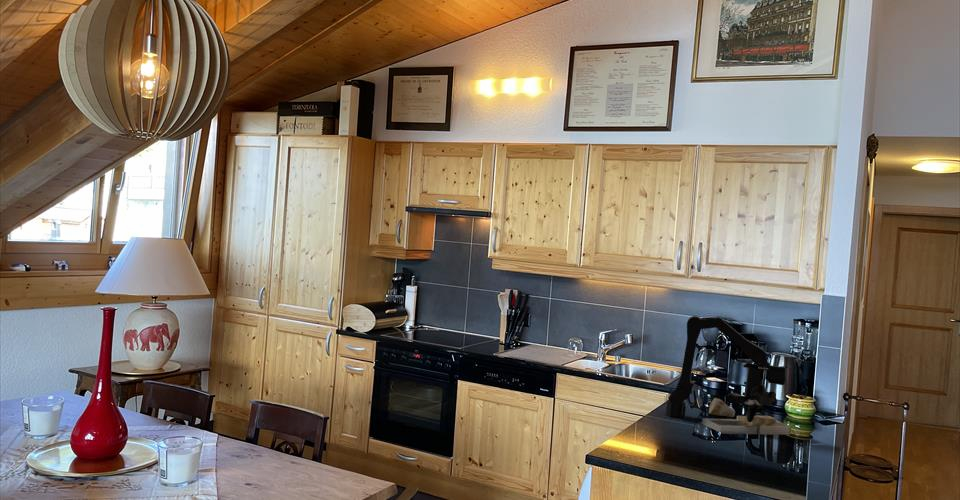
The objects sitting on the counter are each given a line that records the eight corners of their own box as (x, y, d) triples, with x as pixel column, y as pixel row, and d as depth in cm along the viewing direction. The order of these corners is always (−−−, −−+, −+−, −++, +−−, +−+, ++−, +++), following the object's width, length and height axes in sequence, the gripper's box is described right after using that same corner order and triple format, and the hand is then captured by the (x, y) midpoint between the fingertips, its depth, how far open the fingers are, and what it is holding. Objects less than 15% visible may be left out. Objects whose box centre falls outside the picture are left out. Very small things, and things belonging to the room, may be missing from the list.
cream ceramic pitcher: (738, 421, 298) (729, 399, 296) (713, 427, 301) (704, 405, 299) (736, 412, 305) (727, 390, 303) (712, 419, 308) (704, 397, 306)
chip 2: (765, 430, 282) (766, 418, 282) (757, 427, 286) (758, 415, 286) (775, 430, 283) (776, 419, 283) (767, 427, 288) (768, 415, 288)
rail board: (722, 435, 270) (723, 425, 270) (699, 424, 284) (700, 414, 283) (790, 436, 280) (791, 426, 280) (764, 425, 293) (765, 416, 293)
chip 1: (755, 430, 281) (756, 418, 280) (747, 427, 285) (748, 415, 285) (765, 430, 282) (766, 418, 282) (757, 427, 286) (758, 415, 286)
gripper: (748, 384, 271) (742, 427, 272) (790, 386, 277) (784, 428, 278) (728, 377, 282) (723, 419, 282) (769, 380, 288) (764, 420, 288)
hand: (749, 422), depth 282 cm, fingers closed
